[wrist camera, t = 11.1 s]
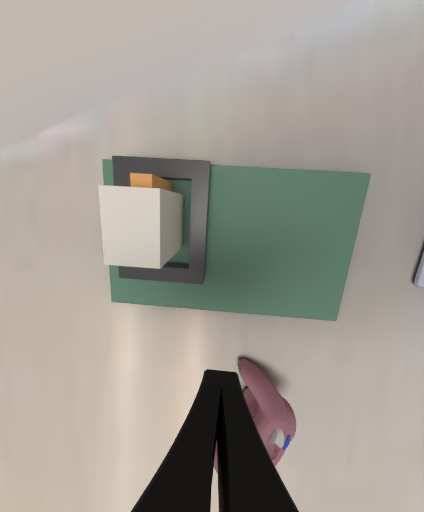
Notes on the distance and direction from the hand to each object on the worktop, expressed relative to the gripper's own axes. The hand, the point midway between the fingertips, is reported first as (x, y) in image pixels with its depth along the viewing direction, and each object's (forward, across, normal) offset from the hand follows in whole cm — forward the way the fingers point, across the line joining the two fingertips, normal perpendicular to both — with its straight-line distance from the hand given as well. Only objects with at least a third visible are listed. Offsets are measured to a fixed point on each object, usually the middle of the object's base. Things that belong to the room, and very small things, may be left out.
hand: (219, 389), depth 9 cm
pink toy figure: (+11, -2, +12) cm, 16 cm away
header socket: (+10, +5, -6) cm, 13 cm away
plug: (+9, +5, -6) cm, 12 cm away
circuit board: (+10, 0, -4) cm, 11 cm away
